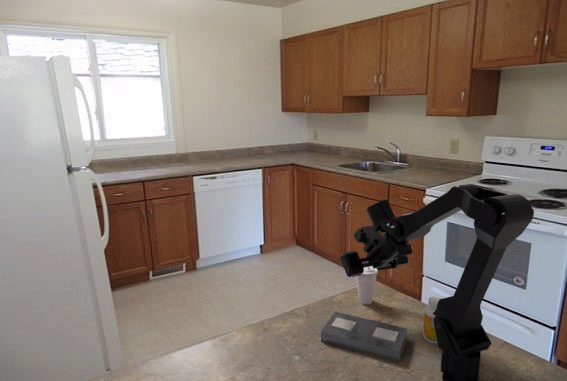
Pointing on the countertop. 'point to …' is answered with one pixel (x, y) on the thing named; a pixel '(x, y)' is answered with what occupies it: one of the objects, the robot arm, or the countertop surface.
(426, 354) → the countertop surface
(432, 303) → the supplement bottle
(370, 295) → the smoothie
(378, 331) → the label box
